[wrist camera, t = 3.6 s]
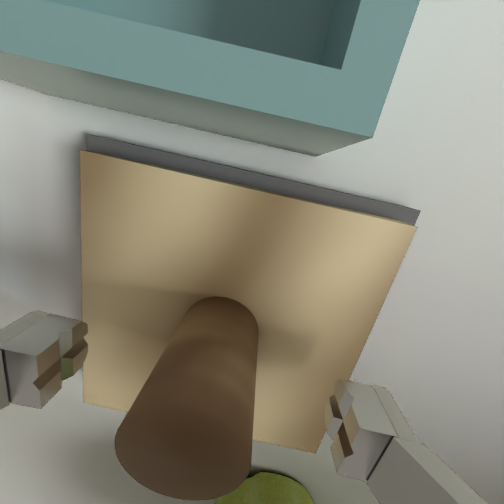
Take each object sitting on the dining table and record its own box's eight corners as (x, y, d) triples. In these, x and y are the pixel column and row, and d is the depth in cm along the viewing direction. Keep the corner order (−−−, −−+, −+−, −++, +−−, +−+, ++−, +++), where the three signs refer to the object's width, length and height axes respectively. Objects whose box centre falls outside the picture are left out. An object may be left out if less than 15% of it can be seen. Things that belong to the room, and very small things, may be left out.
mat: (411, 208, 9) (420, 210, 8) (316, 428, 13) (318, 440, 12) (98, 136, 9) (86, 133, 8) (96, 380, 13) (88, 389, 12)
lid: (401, 221, 9) (594, 292, 4) (311, 431, 12) (343, 619, 7) (100, 152, 9) (-149, 122, 3) (98, 384, 12) (-28, 540, 7)
